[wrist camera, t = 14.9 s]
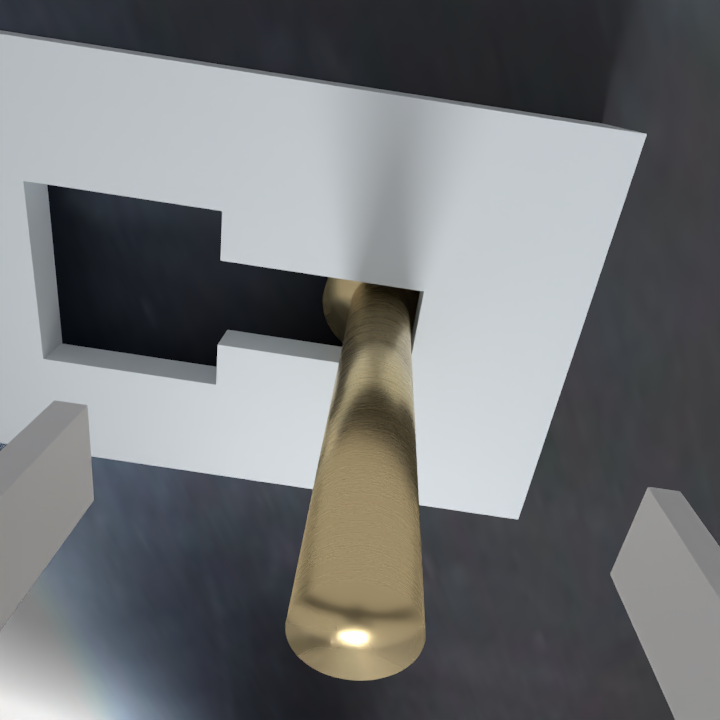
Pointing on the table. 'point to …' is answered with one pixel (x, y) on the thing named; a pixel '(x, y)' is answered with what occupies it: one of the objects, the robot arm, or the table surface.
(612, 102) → the table surface
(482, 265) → the keyhole plate
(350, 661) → the brass peg
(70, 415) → the robot arm
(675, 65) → the table surface
